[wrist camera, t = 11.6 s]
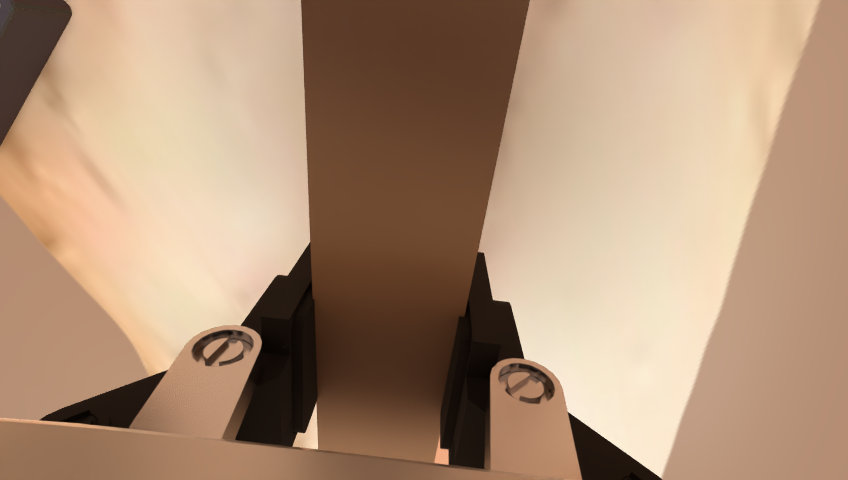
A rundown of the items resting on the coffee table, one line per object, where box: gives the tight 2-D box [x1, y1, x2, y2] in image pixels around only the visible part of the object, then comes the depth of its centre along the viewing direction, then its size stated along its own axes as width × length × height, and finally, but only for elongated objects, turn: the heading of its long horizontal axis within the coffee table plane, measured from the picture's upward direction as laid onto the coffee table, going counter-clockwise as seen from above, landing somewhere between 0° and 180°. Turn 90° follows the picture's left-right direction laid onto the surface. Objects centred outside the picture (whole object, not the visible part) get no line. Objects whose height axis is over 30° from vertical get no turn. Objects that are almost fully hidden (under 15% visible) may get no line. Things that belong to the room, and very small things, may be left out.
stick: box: [301, 0, 530, 463], centre depth 11 cm, size 18×3×4 cm, turn 173°
